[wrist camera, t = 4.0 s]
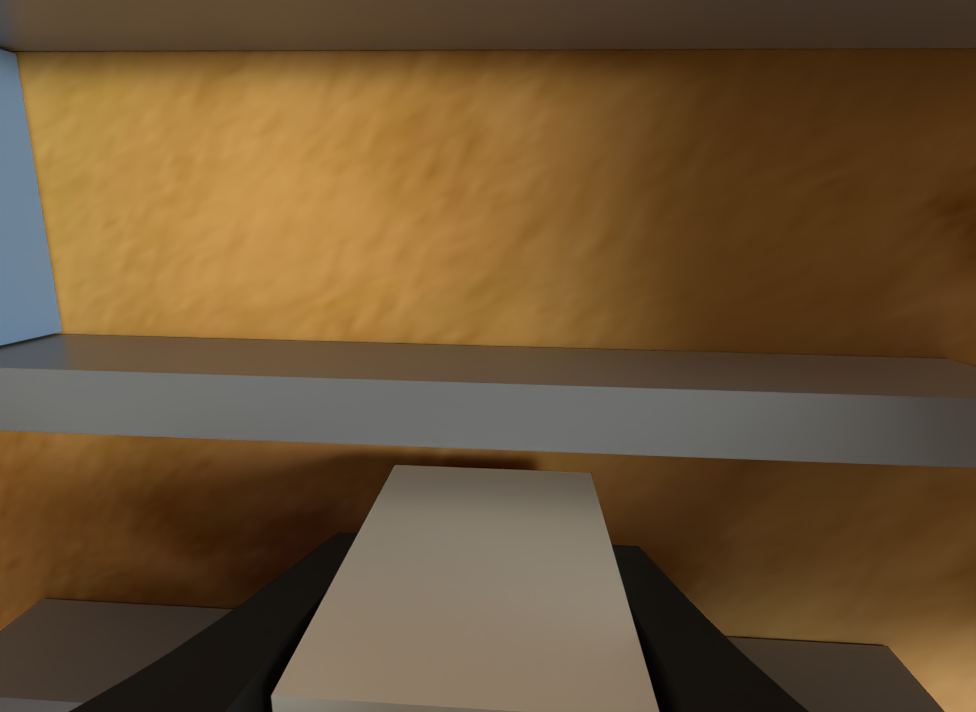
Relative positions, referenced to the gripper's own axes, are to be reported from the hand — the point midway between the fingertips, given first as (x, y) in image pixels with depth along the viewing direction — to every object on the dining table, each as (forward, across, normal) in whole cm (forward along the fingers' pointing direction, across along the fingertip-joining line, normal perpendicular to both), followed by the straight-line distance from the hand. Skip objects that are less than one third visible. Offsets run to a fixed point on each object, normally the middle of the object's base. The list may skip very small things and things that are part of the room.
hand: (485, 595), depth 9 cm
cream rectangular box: (+1, 0, 0) cm, 1 cm away
